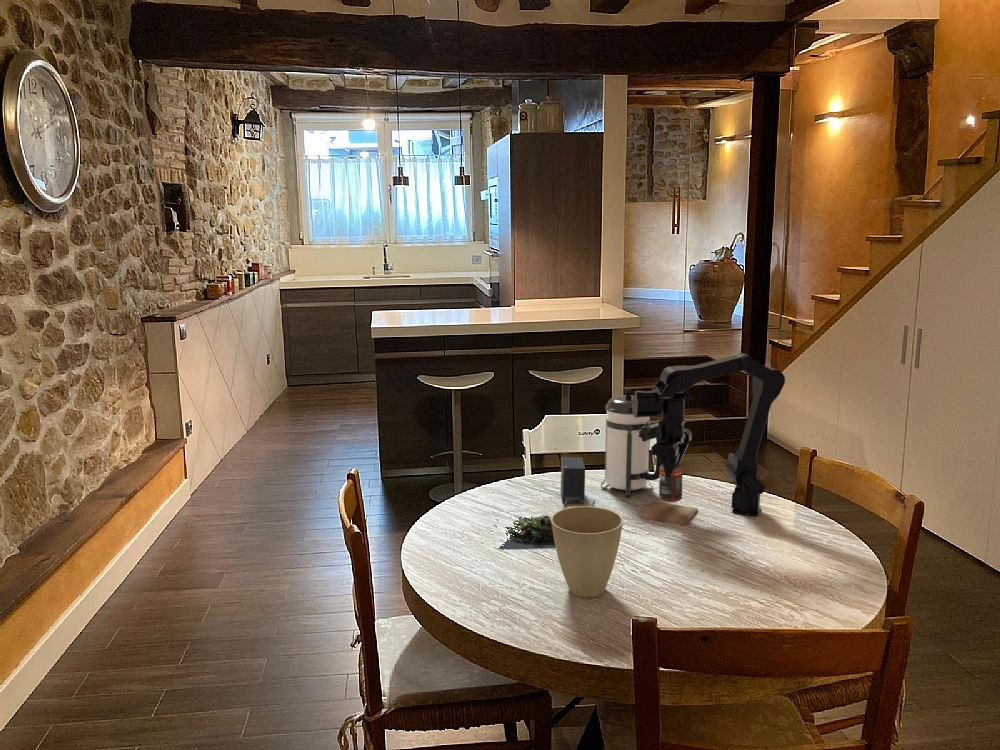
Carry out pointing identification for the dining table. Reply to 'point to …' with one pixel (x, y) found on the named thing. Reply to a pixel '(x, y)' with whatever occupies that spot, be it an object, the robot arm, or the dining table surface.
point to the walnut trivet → (669, 513)
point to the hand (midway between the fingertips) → (671, 473)
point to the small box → (572, 480)
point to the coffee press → (627, 447)
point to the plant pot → (586, 547)
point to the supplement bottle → (671, 484)
